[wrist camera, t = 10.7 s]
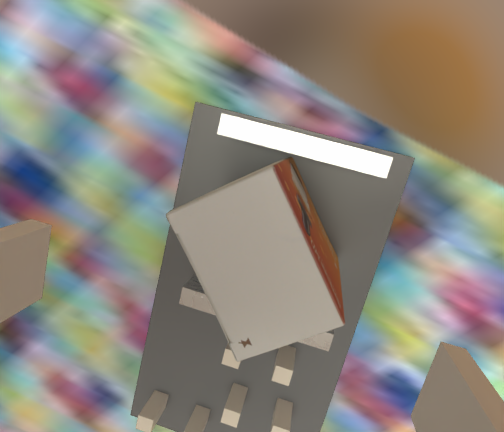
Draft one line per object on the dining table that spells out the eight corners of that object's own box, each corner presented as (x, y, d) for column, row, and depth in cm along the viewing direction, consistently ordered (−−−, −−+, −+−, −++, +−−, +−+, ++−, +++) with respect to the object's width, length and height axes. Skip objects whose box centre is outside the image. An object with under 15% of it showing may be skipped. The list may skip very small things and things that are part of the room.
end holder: (197, 281, 30) (178, 303, 26) (236, 116, 27) (221, 113, 23) (327, 322, 28) (328, 351, 24) (382, 154, 26) (393, 157, 22)
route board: (135, 407, 34) (111, 441, 30) (199, 102, 28) (180, 97, 24) (304, 467, 32) (302, 512, 28) (411, 157, 26) (426, 160, 22)
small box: (339, 259, 27) (349, 330, 17) (266, 286, 29) (236, 368, 18) (292, 153, 26) (275, 162, 16) (220, 186, 28) (161, 214, 18)
